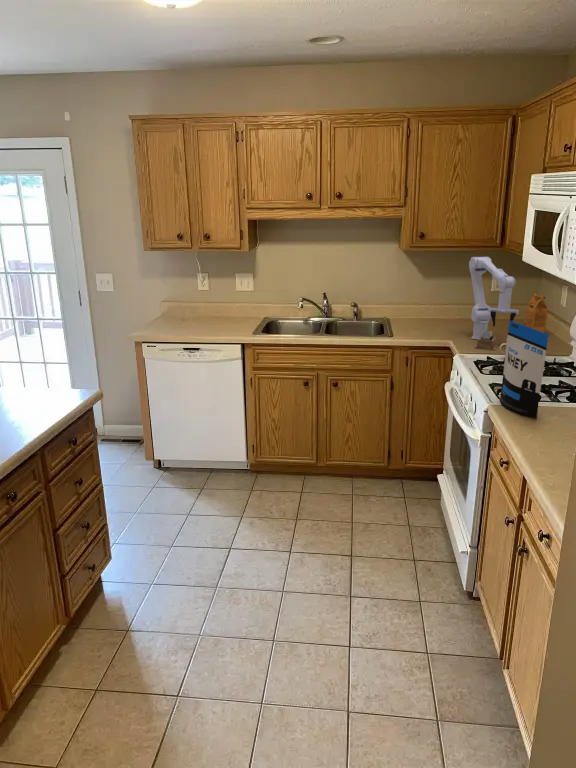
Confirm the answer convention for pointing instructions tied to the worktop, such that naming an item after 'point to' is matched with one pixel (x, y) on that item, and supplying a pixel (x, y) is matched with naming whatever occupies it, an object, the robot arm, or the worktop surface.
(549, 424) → the worktop surface
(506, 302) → the robot arm
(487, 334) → the silver metal block
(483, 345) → the brown rectangular frame
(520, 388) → the protein powder
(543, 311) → the coffee package
